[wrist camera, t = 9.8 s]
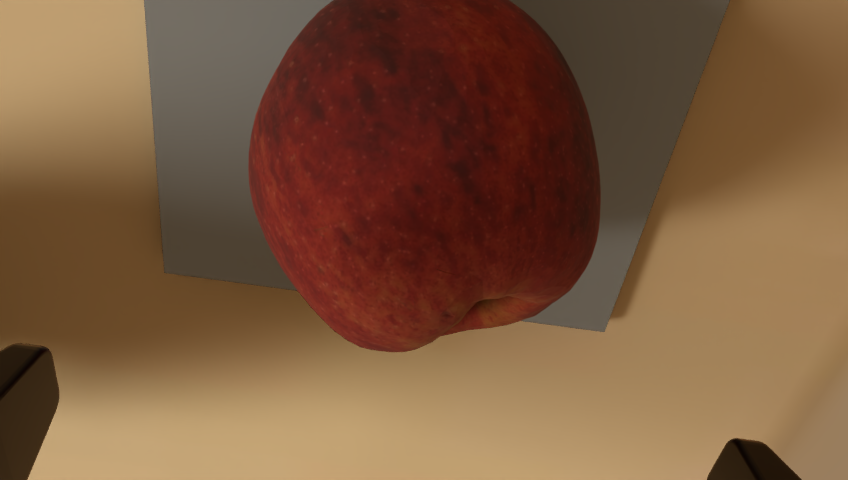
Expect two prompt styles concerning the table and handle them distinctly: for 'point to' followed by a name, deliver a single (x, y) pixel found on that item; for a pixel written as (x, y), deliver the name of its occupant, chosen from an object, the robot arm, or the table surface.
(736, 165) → the table surface
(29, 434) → the robot arm
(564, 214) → the apple
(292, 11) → the mat
